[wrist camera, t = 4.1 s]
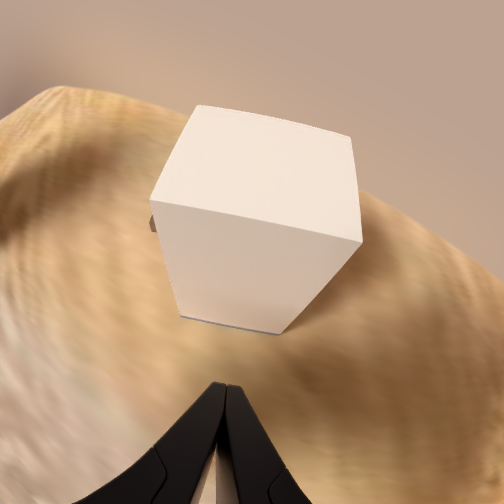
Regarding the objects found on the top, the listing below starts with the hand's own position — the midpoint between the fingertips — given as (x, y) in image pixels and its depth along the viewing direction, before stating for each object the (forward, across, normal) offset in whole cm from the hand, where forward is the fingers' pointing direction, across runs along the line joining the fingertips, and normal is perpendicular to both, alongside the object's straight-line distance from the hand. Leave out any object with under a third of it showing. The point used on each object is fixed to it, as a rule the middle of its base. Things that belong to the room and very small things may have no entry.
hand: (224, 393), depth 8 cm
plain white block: (+9, 0, 0) cm, 9 cm away
